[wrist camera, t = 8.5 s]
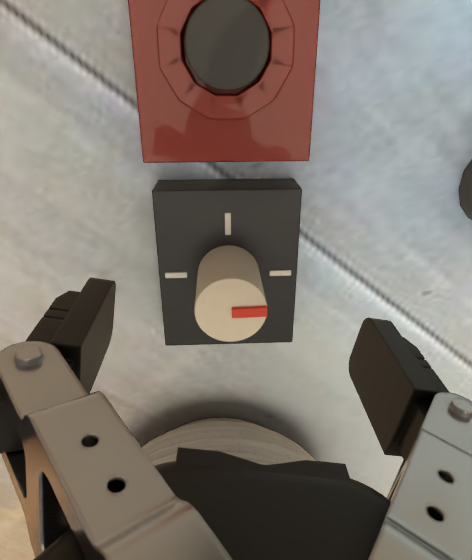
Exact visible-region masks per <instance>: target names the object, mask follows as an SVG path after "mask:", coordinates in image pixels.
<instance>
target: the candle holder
mask: <svg viewBox="0 0 472 560" xmlns="http://www.w3.org/2000/svg"><path fill="white" fill-rule="evenodd" d="M459 196H460V205H461V207H462V209H463V210H464V212H465V213H466V215H467V216H468V218H469V219H471V220H472V161H471V162H470V164H469V165H468V166H467V168H466V169H465V171H464V173H463V177H462V180H461V183H460V187H459Z"/></svg>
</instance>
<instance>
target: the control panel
mask: <svg viewBox="0 0 472 560" xmlns="http://www.w3.org/2000/svg"><path fill="white" fill-rule="evenodd" d="M301 195H302V189H301V187H300V186H299V185H298V184H297V182H296V181H295V180H294V179H293V178H292V179H212V180H158V182H157V183H156V185H155V187H154V189H153V191H152V196H153V207H154V219H155V230H156V241H157V253H158V264H159V276H160V287H161V299H162V310H163V322H164V333H165V344H166V345H200V344H237V343H274V342H292V337H293V321H294V306H295V290H296V274H297V258H298V242H299V227H300V211H301ZM226 245H232V246H237V247H240V248H243V249H245V250H246V251H248V252H249V253H250V254H251V255H252V256H253V257H254V258H255V260H256V262H257V264H258V268H259V272H260V277H261V281H262V285H263V290H264V294H265V299H266V303H267V317H266V319H265V321H264V323H263V325H262V326H261V328H260V329H259V330H258V331H257V332H256V333H255V334H253V335H252V336H250V337H248V338H246V339H244V340H240V341H234V342H226V341H220V340H217V339H214V338H212V337H210V336H209V335H207V334H206V333H205V332H204V331H203V330H202V329H201V328H200V326H199V325H198V323H197V321H196V318H195V298H196V286H197V275H198V268H199V264H200V262H201V260H202V259H203V257H204V256H205V255H206V254H207V253H208V252H210V251H211V250H213V249H215V248H217V247H220V246H226Z"/></svg>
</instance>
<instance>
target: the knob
mask: <svg viewBox="0 0 472 560" xmlns="http://www.w3.org/2000/svg"><path fill="white" fill-rule="evenodd" d="M266 317H267V303H266V299H265V294H264V290H263V285H262V281H261V277H260V272H259V268H258V264H257V262H256V260H255V258H254V257H253V256H252V255H251V254H250V253H249V252H248V251H246V250H245V249H243V248H240V247H237V246H232V245H226V246H220V247H217V248H215V249H213V250H211V251H210V252H208V253H207V254H206V255H205V256H204V257H203V259H202V260H201V262H200V264H199V268H198V275H197V286H196V298H195V318H196V321H197V323H198V325H199V326H200V328H201V329H202V330H203V331H204V332H205V333H206V334H207V335H209V336H210V337H212V338H214V339H217V340H220V341H226V342H234V341H240V340H244V339H246V338H248V337H250V336H252V335H253V334H255V333H256V332H257V331H258V330H259V329H260V328H261V326H262V325H263V323H264V321H265V319H266Z"/></svg>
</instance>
